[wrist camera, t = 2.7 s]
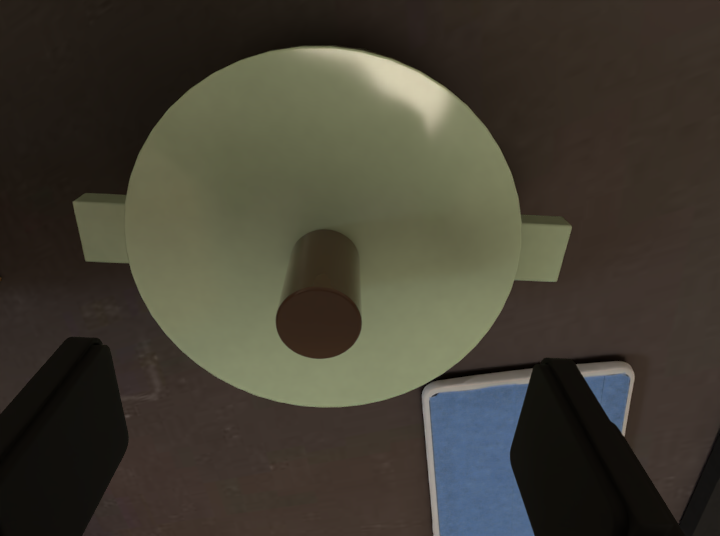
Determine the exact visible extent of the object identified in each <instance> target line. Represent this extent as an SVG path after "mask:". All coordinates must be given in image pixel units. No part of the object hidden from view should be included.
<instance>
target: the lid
mask: <svg viewBox="0 0 720 536" xmlns="http://www.w3.org/2000/svg"><path fill="white" fill-rule="evenodd" d="M124 234H125V243H126V252H127V256H128V260H129V264H130V268H131V272H132V275H133V278H134V280H135V283H136V285H137V288H138V290H139V293H140V295H141V297H142V299H143V301H144V302H145V304H146V306H147V308H148V310H149V311H150V313H151V315H152V316H153V318H154V319H155V320H156V322H157V323H158V324H159V326H160V327H161V329H162V330H163V331H164V333H165V334H166V335H167V336H168V337H169V338H170V339H171V340H172V341H173V342H174V343H175V345H176V346H177V347H178V348H179V349H180V350H181V351H182V352H184V353H185V354H186V355H187V356H188V357H189V358H191V359H192V360H193V361H194V362H195V363H197V364H198V365H199V366H201V367H202V368H204V369H205V370H207V371H208V372H210V373H211V374H213V375H214V376H216V377H217V378H219V379H221V380H223V381H225V382H227V383H229V384H231V385H232V386H234V387H236V388H239V389H241V390H244V391H246V392H249V393H251V394H254V395H256V396H259V397H263V398H266V399H270V400H273V401H277V402H282V403H287V404H293V405H298V406H310V407H347V406H356V405H364V404H369V403H373V402H378V401H382V400H386V399H389V398H392V397H395V396H398V395H401V394H404V393H407V392H409V391H411V390H413V389H416V388H418V387H420V386H422V385H424V384H426V383H428V382H430V381H431V380H433V379H435V378H436V377H438V376H440V375H441V374H443V373H445V372H446V371H447V370H449V369H450V368H451V367H453V366H454V365H455V364H456V363H458V362H459V361H460V360H462V359H463V358H464V357H465V356H466V355H467V354H468V353H469V352H470V351H471V350H472V349H473V348H474V347H475V346H476V345H477V344H478V343H479V342H480V340H481V339H482V338H483V337H484V335H485V334H486V333H487V332H488V331H489V329H490V328H491V326H492V325H493V323H494V322H495V320H496V318H497V317H498V315H499V314H500V312H501V311H502V308H503V306H504V304H505V302H506V300H507V298H508V295H509V293H510V291H511V288H512V285H513V282H514V279H515V275H516V272H517V269H518V263H519V257H520V250H521V234H522V220H521V213H520V205H519V197H518V194H517V190H516V187H515V183H514V180H513V176H512V173H511V171H510V169H509V166H508V164H507V162H506V160H505V158H504V155H503V153H502V151H501V149H500V147H499V146H498V144H497V143H496V141H495V140H494V138H493V137H492V135H491V134H490V132H489V130H488V129H487V127H486V126H485V125H484V124H483V123H482V122H481V120H480V119H479V118H478V117H477V116H476V115H475V114H474V112H473V111H472V110H471V109H470V108H469V107H468V106H467V105H466V104H465V103H464V102H463V101H461V100H460V99H459V98H458V97H457V96H456V95H454V94H453V93H452V92H451V91H450V90H449V89H447V88H446V87H445V86H444V85H443V84H441V83H439V82H438V81H436V80H435V79H433V78H431V77H430V76H428V75H427V74H425V73H423V72H422V71H420V70H419V69H417V68H414V67H412V66H410V65H408V64H405V63H403V62H401V61H399V60H396V59H394V58H392V57H389V56H385V55H381V54H378V53H374V52H371V51H367V50H364V49H358V48H351V47H343V46H336V45H300V46H294V47H287V48H280V49H274V50H270V51H266V52H263V53H260V54H257V55H253V56H250V57H247V58H244V59H241V60H239V61H237V62H235V63H233V64H231V65H229V66H227V67H225V68H223V69H221V70H218V71H216V72H214V73H213V74H211V75H210V76H208V77H207V78H205V79H204V80H202V81H201V82H199V83H198V84H196V85H195V86H193V87H192V88H190V89H189V90H188V91H187V92H186V93H185V94H184V95H183V96H182V97H180V98H179V99H178V100H177V101H176V102H175V103H174V104H173V105H172V106H171V107H170V108H169V109H168V110H167V111H166V113H165V114H164V115H163V116H162V118H161V119H160V120H159V121H158V123H157V124H156V125H155V127H154V128H153V129H152V130H151V132H150V134H149V136H148V138H147V139H146V141H145V143H144V145H143V147H142V148H141V150H140V152H139V154H138V157H137V159H136V162H135V165H134V168H133V170H132V173H131V176H130V179H129V184H128V189H127V194H126V199H125V211H124Z"/></svg>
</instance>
